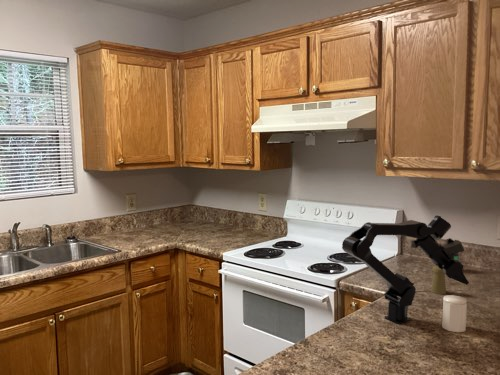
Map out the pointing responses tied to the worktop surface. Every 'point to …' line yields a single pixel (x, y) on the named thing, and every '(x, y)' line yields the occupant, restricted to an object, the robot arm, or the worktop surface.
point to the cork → (438, 281)
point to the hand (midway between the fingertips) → (463, 279)
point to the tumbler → (454, 313)
